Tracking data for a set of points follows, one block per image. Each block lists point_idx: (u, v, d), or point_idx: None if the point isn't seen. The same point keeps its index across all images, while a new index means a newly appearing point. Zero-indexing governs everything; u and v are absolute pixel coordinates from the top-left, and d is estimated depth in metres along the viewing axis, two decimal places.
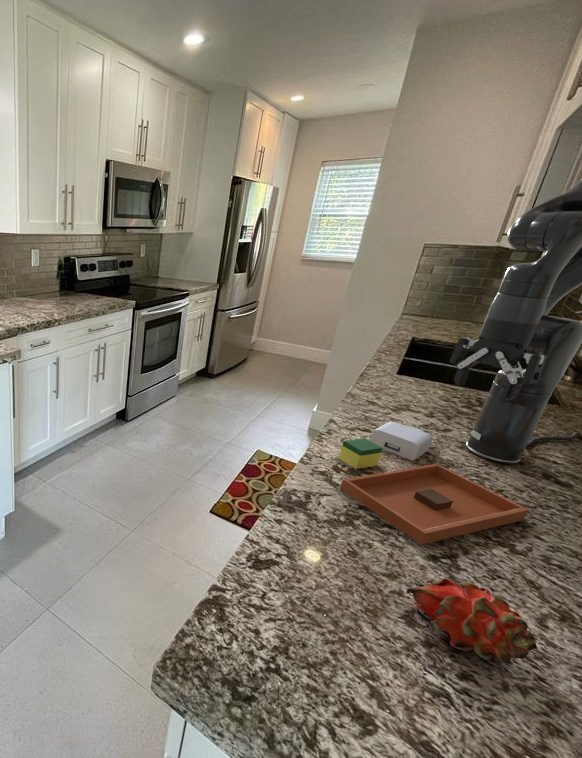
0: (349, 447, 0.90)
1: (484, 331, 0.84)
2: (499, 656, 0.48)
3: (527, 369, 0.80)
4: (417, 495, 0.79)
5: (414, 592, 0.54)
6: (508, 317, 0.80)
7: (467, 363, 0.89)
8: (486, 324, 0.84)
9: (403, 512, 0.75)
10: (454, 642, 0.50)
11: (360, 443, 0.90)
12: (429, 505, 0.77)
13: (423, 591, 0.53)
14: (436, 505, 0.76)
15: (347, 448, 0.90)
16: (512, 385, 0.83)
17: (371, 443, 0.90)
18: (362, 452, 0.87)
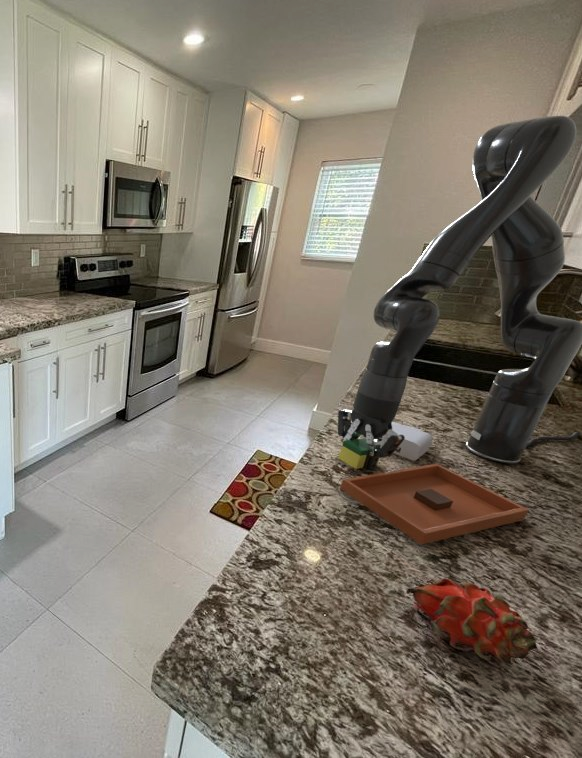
0: (349, 447, 0.90)
1: (355, 403, 0.87)
2: (499, 656, 0.48)
3: (384, 445, 0.84)
4: (417, 495, 0.79)
5: (414, 592, 0.54)
6: (372, 394, 0.83)
7: (350, 436, 0.91)
8: (357, 397, 0.87)
9: (403, 512, 0.75)
10: (454, 642, 0.50)
11: (360, 443, 0.90)
12: (429, 505, 0.77)
13: (423, 591, 0.53)
14: (436, 505, 0.76)
15: (347, 448, 0.90)
16: (371, 457, 0.87)
17: None
18: (362, 452, 0.87)
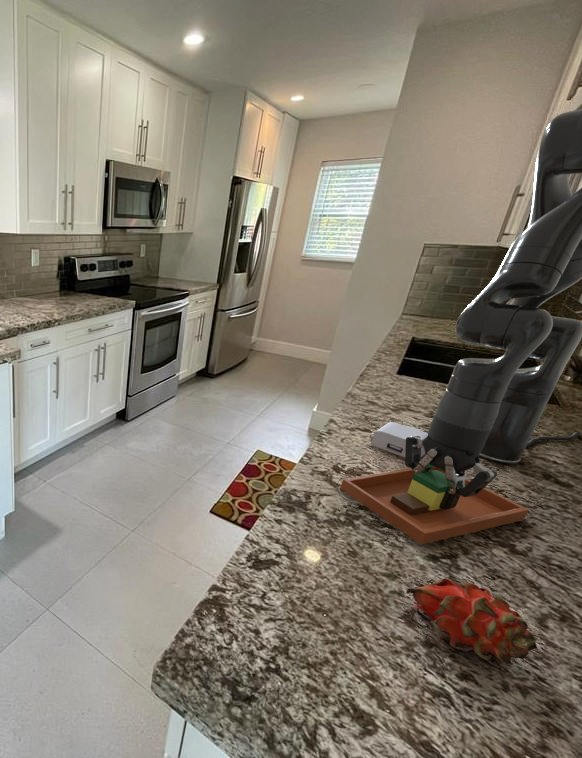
0: (422, 482, 0.76)
1: (432, 431, 0.73)
2: (499, 656, 0.48)
3: (470, 483, 0.70)
4: (393, 499, 0.77)
5: (414, 592, 0.54)
6: (456, 421, 0.69)
7: (422, 468, 0.77)
8: (434, 424, 0.73)
9: (403, 512, 0.75)
10: (454, 642, 0.50)
11: (435, 477, 0.76)
12: (405, 510, 0.75)
13: (423, 591, 0.53)
14: (412, 510, 0.74)
15: (419, 483, 0.76)
16: (450, 494, 0.73)
17: None
18: (440, 489, 0.73)
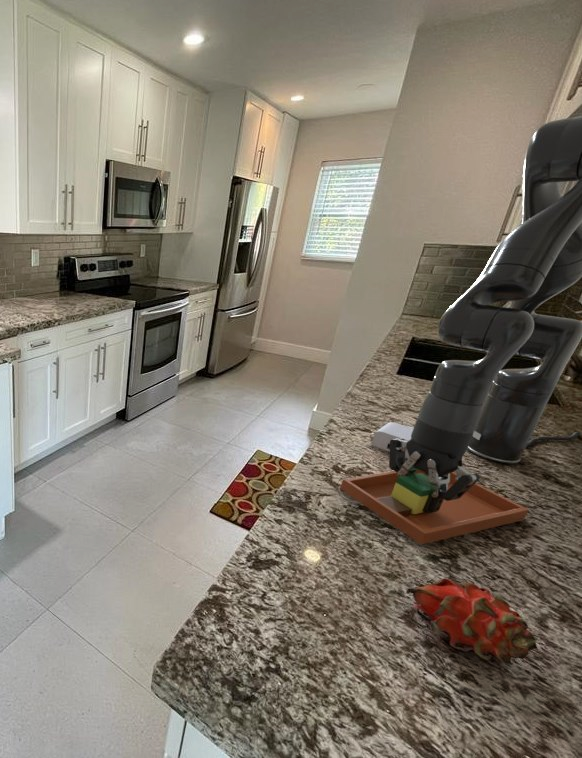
0: (405, 485, 0.75)
1: (415, 434, 0.72)
2: (499, 656, 0.48)
3: (453, 486, 0.69)
4: None
5: (414, 592, 0.54)
6: (439, 424, 0.68)
7: (406, 471, 0.76)
8: (417, 426, 0.72)
9: None
10: (454, 642, 0.50)
11: (419, 481, 0.75)
12: None
13: (423, 591, 0.53)
14: None
15: (403, 486, 0.75)
16: (434, 498, 0.73)
17: None
18: (423, 492, 0.72)
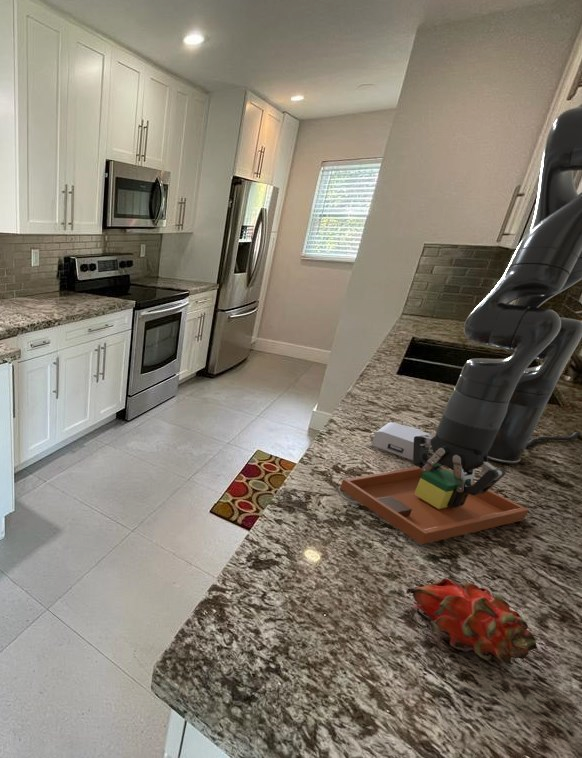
0: (430, 480, 0.76)
1: (440, 430, 0.74)
2: (499, 656, 0.48)
3: (478, 481, 0.71)
4: None
5: (414, 592, 0.54)
6: (465, 420, 0.70)
7: (430, 467, 0.78)
8: (442, 423, 0.74)
9: None
10: (454, 642, 0.50)
11: (443, 476, 0.77)
12: None
13: (423, 591, 0.53)
14: None
15: (428, 481, 0.77)
16: (458, 493, 0.74)
17: None
18: (448, 488, 0.74)
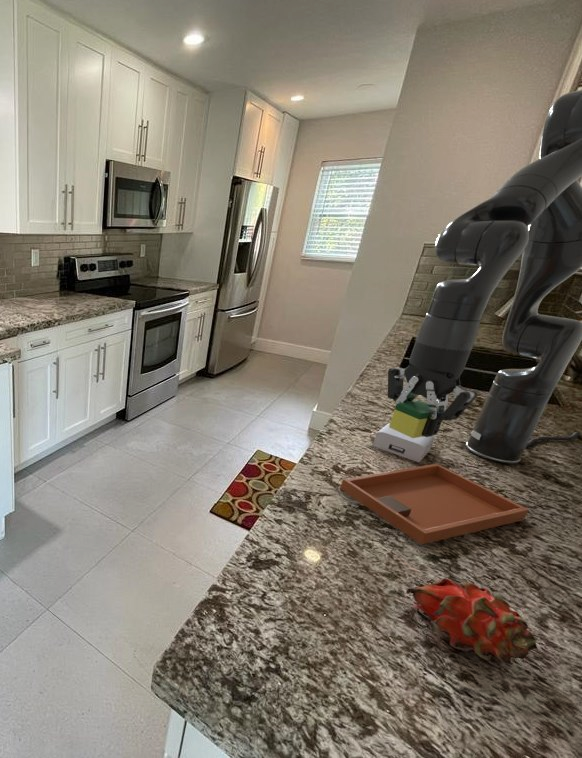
0: (404, 410, 0.75)
1: (413, 357, 0.73)
2: (499, 656, 0.48)
3: (451, 405, 0.70)
4: None
5: (414, 592, 0.54)
6: (437, 342, 0.69)
7: (404, 397, 0.77)
8: (415, 349, 0.73)
9: None
10: (454, 642, 0.50)
11: (417, 406, 0.76)
12: None
13: (423, 591, 0.53)
14: None
15: (402, 412, 0.76)
16: (432, 420, 0.73)
17: None
18: (422, 415, 0.73)
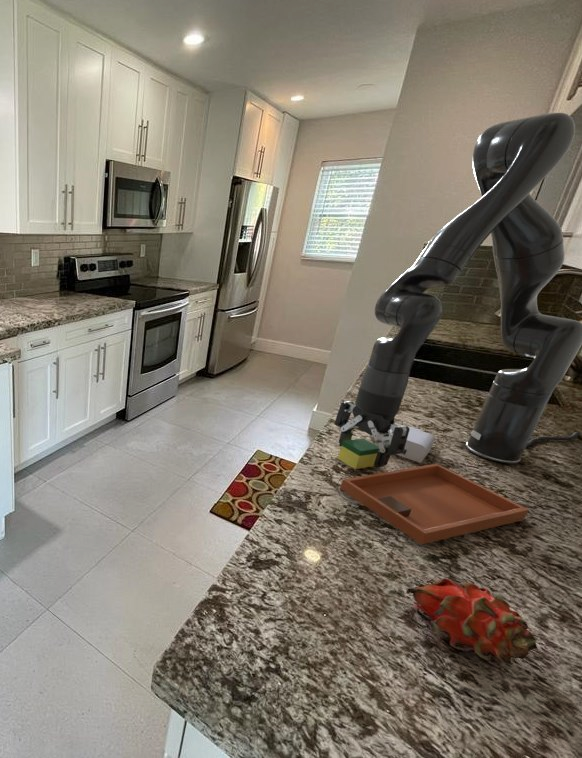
0: (348, 447, 0.89)
1: (357, 400, 0.87)
2: (499, 656, 0.48)
3: (392, 440, 0.83)
4: None
5: (414, 592, 0.54)
6: (374, 390, 0.83)
7: (348, 427, 0.92)
8: (359, 393, 0.87)
9: None
10: (454, 642, 0.50)
11: (360, 444, 0.90)
12: None
13: (423, 591, 0.53)
14: None
15: (346, 448, 0.90)
16: (382, 453, 0.85)
17: (370, 443, 0.90)
18: (361, 452, 0.87)
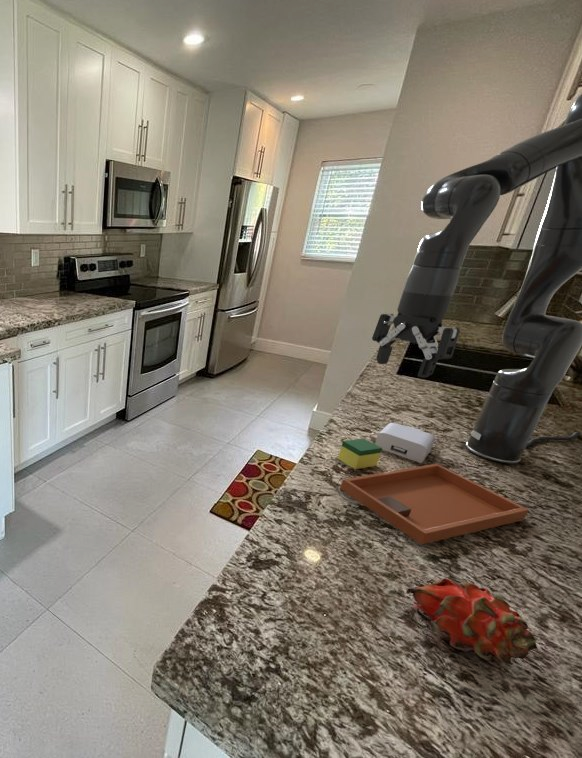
0: (348, 447, 0.89)
1: (400, 305, 0.81)
2: (499, 656, 0.48)
3: (440, 343, 0.76)
4: None
5: (414, 592, 0.54)
6: (421, 289, 0.77)
7: (387, 340, 0.86)
8: (402, 298, 0.81)
9: None
10: (454, 642, 0.50)
11: (360, 444, 0.90)
12: None
13: (423, 591, 0.53)
14: None
15: (346, 448, 0.90)
16: (428, 361, 0.79)
17: (370, 443, 0.90)
18: (361, 452, 0.87)
